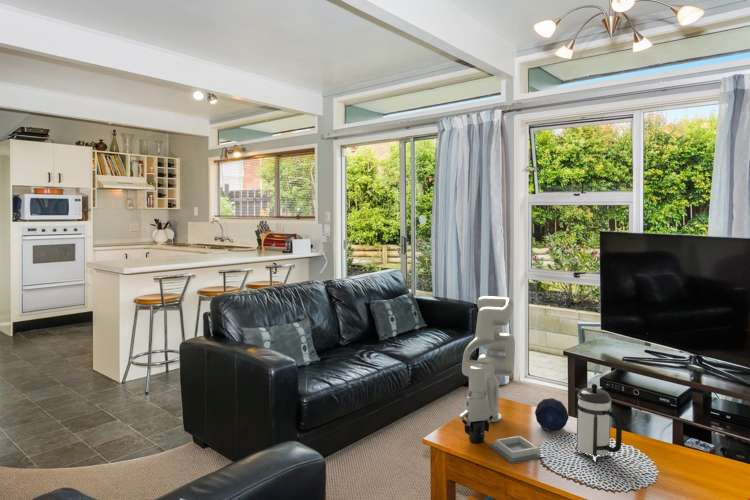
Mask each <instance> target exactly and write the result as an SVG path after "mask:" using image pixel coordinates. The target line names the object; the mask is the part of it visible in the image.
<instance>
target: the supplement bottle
mask: <svg viewBox="0 0 750 500" xmlns="http://www.w3.org/2000/svg"><path fill="white" fill-rule="evenodd" d="M469 426H470V435H468V440H469V442H471V443H473V444H483V443H485V440H486V439H485V437H486V435H485V434H486V431H485V422H484V420H482V421H476V422H471V423H470V424H469Z"/></svg>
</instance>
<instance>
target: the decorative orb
mask: <svg viewBox="0 0 750 500" xmlns="http://www.w3.org/2000/svg"><path fill="white" fill-rule="evenodd" d="M534 414H535V418H536V421H537V423H538V425H539V426H540V427H541V428H542V429H544V430H546V431H549V432H560V431H561V430H562V429H563V428H565V426H566V425H567V423H568V420H569V418H570V417H569V412H568V410H567V407H566V405H564V404H563V402H562V401H560V400H558V399H556V398H553V397H552V398H544V399H542V400H541V401H539V403H538V404H537V406H536V408H535V410H534Z"/></svg>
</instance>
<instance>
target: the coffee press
mask: <svg viewBox="0 0 750 500" xmlns="http://www.w3.org/2000/svg"><path fill="white" fill-rule="evenodd" d="M577 399H578V401H577V411H576V412H577V413H576V414H577V417H576V419H577V420H576V446H575V447H576V449H578V450H580V451H582V452H585V453H587V454H591V455H594V456H597V455H600V456H602V455H606V454H608V455H609V453H610V452H611V453H617V452H619V451H620V450H621V448H622V439H623V438H622V435H623V434H622V432H623V428H622V421H621V418H620V416H619V415H617V413H616V412H614V411H611V403H612V397H611V396H610V394H609V393H608V391H605V390H604V389H602V388H598V385H597V384H596V383H592V384H591V387H584V388H581V389H580V390H579V392H578V393H577ZM611 418H612V419H613V420H614V423H615V426H616V427H615V428H616V429H615V446H613V447H612V446H611V445H610V443H611V442H610V441H611V440H610V439H611ZM582 452H581V453H582ZM606 456H607V455H606Z"/></svg>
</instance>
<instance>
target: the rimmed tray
mask: <svg viewBox="0 0 750 500" xmlns="http://www.w3.org/2000/svg"><path fill="white" fill-rule="evenodd" d="M488 446H489V448H490V449H492V450H493V452H496V453H497V454H498V455H499V456H501V458H503V459H504V460H506V462H508V463H510V465H511V464H516V463H521V462H527V461H532V460H537V459H541V458H540V456H541V455H540V452H541V451H540V450H539V447H537V446H536V445H535V444H533V443H531V442H530V441H528V440H527V439H526V438H524V437H523V436H521V435H515V436H511V437H504V438H498V439H495V440H494V443H489V445H488Z"/></svg>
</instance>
